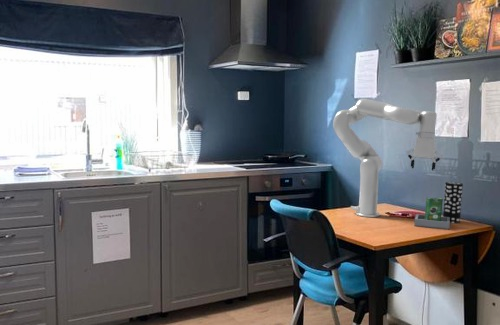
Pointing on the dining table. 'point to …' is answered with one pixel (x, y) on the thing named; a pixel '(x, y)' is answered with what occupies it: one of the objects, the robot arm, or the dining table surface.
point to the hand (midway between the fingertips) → (422, 169)
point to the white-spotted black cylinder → (453, 201)
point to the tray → (432, 222)
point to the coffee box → (433, 209)
